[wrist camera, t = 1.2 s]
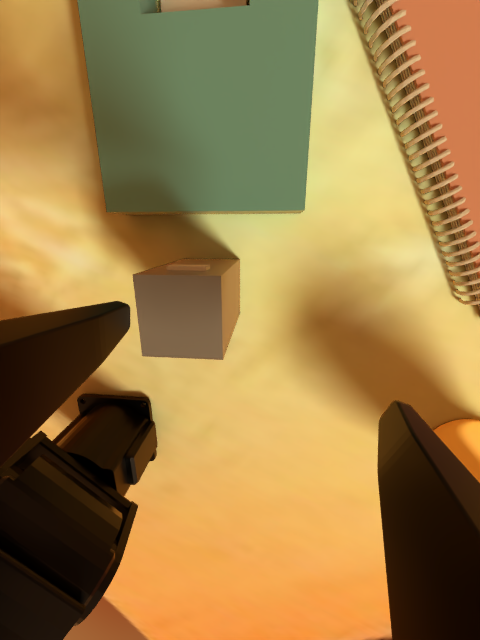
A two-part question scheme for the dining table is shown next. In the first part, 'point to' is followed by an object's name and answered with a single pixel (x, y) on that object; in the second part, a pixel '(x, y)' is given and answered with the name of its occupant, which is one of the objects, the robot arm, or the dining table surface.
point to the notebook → (441, 109)
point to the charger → (188, 308)
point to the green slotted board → (201, 103)
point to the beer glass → (463, 442)
